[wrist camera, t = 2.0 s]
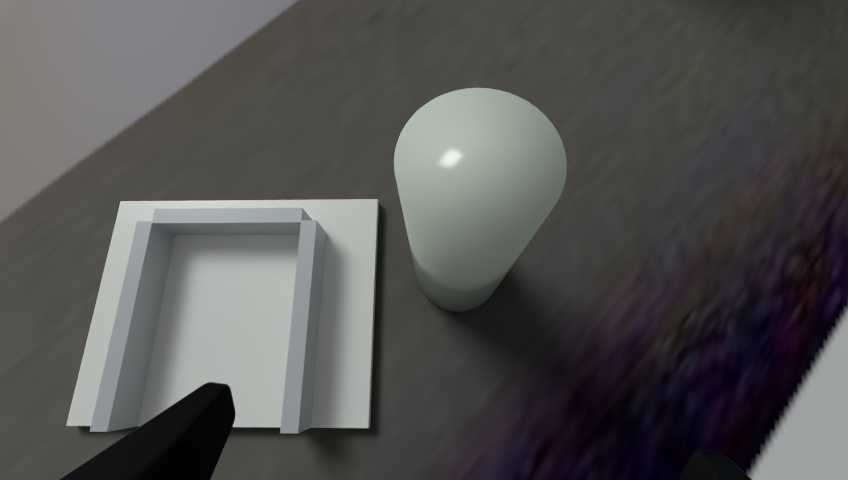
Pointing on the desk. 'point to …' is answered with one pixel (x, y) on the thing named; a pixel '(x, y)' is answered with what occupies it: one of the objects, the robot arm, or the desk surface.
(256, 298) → the white railed tray
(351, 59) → the desk surface
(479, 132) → the domed peg
